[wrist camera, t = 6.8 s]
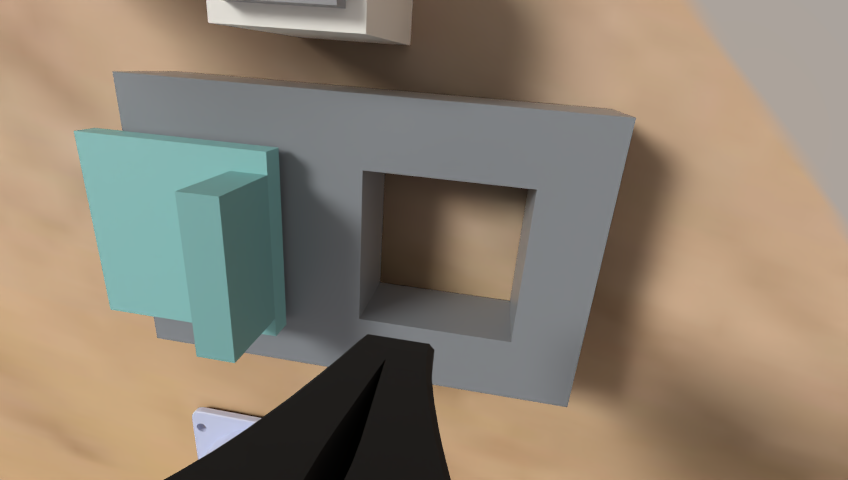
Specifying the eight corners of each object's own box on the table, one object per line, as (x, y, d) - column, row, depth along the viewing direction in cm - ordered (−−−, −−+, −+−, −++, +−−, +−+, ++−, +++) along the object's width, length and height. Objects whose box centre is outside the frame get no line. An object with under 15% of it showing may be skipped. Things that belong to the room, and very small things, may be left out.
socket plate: (557, 357, 19) (567, 407, 16) (203, 301, 21) (157, 337, 18) (611, 108, 15) (636, 117, 12) (175, 71, 17) (112, 71, 14)
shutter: (286, 324, 16) (236, 382, 13) (127, 299, 17) (46, 348, 14) (278, 147, 14) (216, 169, 11) (95, 127, 15) (-11, 142, 12)
